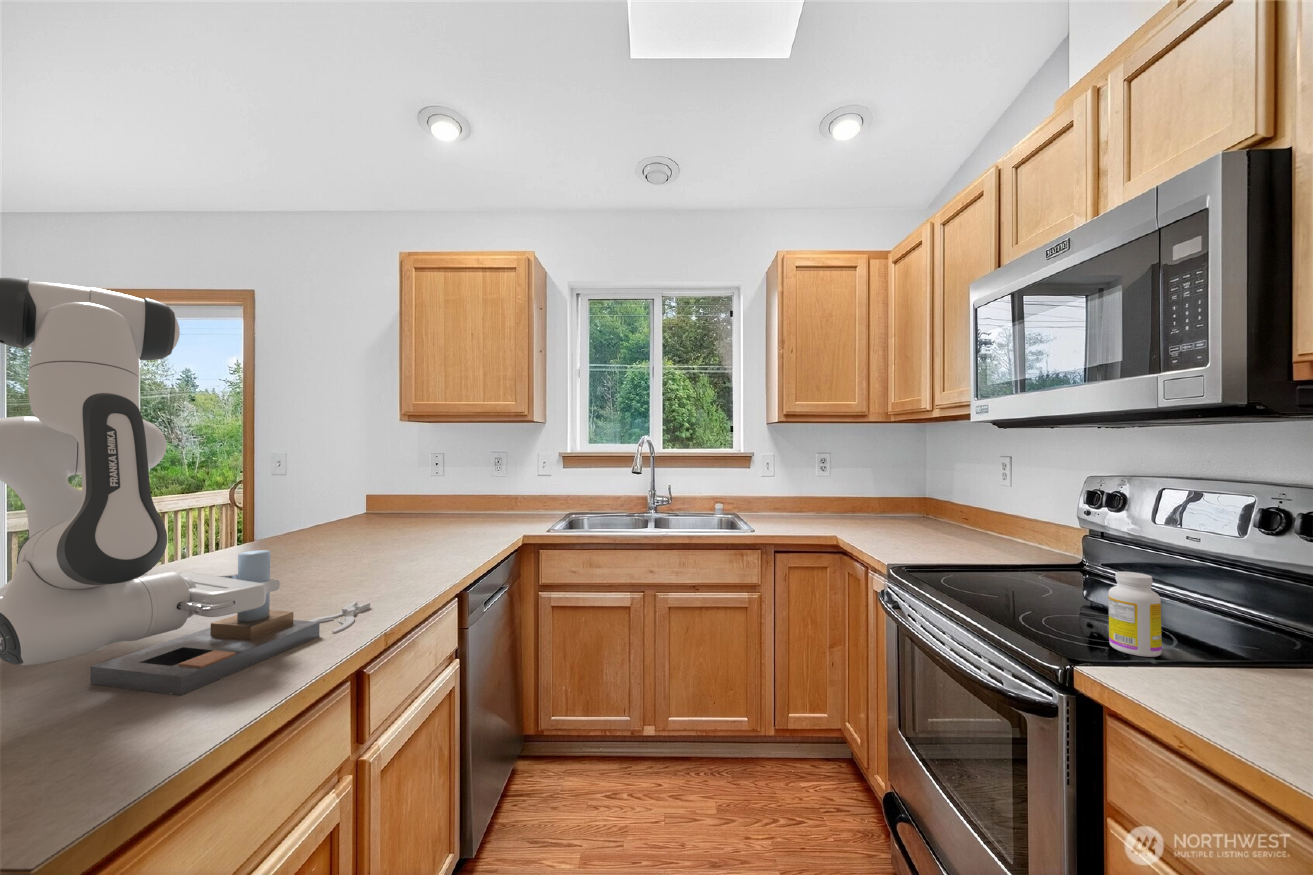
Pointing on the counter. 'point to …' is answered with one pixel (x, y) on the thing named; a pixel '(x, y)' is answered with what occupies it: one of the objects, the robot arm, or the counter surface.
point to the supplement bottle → (1135, 615)
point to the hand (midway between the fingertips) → (258, 581)
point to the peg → (254, 580)
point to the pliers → (347, 612)
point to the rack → (205, 654)
